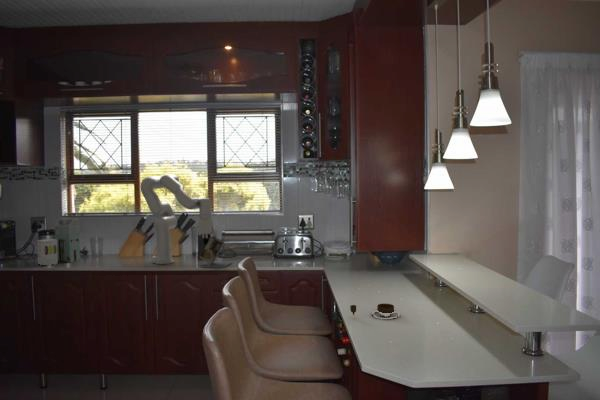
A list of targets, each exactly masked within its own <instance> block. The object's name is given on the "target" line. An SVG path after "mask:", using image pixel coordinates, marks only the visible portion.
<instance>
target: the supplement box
mask: <svg viewBox="0 0 600 400" xmlns="http://www.w3.org/2000/svg"><path fill="white" fill-rule="evenodd" d="M36 242H37V244H36V245H37V246H36V247H37V248H36V249H37V265H38V264H40V265H39V266H42V265H47V266H51V265H50V264H54V265H58V264H57V263H58V256H57V240H56V239H55V238H48V239H47V238H46V239H45V238H44V239H37V240H36Z"/></svg>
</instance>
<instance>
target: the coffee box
mask: <svg viewBox="0 0 600 400" xmlns="http://www.w3.org/2000/svg"><path fill="white" fill-rule="evenodd" d="M225 243H226V242H225V241H223V240H221V239H220V238H218V237H216V236H215V235H212V236H210V237H209V242H208V243H207V244H205V245H206V246H205V248H204V249H203V250H202V252H201V253H200V256H199V259H201V260H203V261H204V262H206V263H208V265H209V264H212V263H214V262H215V261H216V258H218V255H219V253H220V252H221V250H222V248H223V247H224V245H225Z"/></svg>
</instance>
